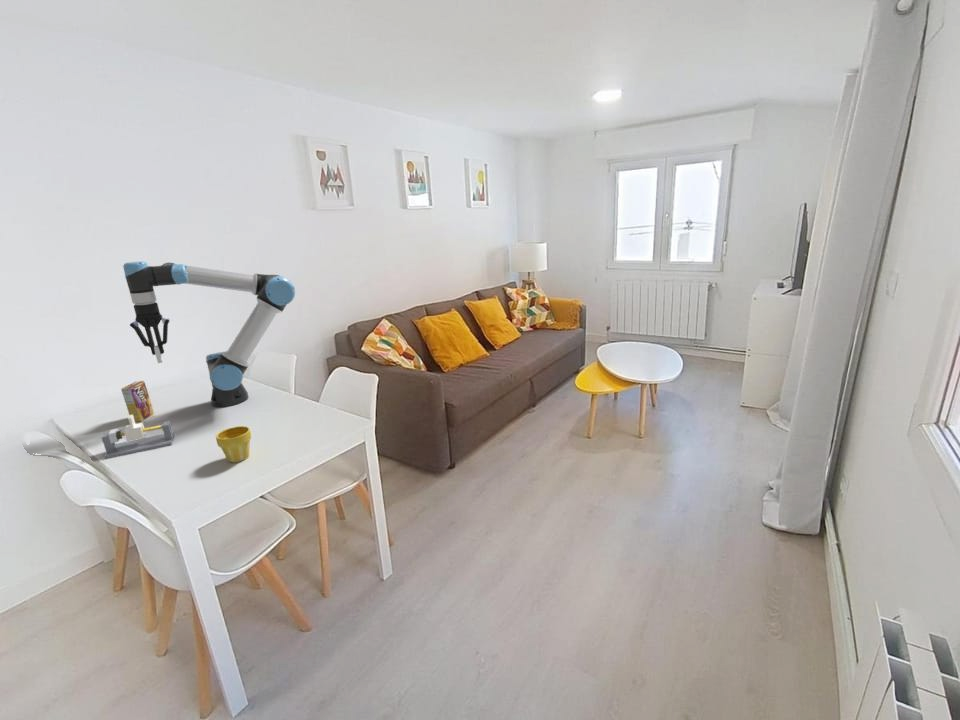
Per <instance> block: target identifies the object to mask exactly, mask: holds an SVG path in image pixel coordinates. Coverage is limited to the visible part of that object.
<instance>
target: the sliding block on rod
mask: <svg viewBox="0 0 960 720" xmlns="http://www.w3.org/2000/svg"><path fill="white" fill-rule="evenodd" d="M160 429H162V431H163V434H159V435H158V434H157V435H154V436H150V437H149V436H148V437H144V438H141V439H136V440H131V441H124V442H119V441H120V440H121V439H122V438H123V437H124V436H125V433H124V431H123V432H122V431H121V430H119V429H118V428H114V429H110V430H109V432H104V433H103V435H102V436H101V439H102V443H103V446H104V449H105V451H106V453H105V455H104V456H103V457H104V459H110V458H111V459H112V458H116V457H120V456H125V455H126V456H127V455H131V454H134V453H138V452H140V453H141V452H145V451H149V450H154V449H159V448H164V447H168V446H172V445H173V443H174V439H175V436H176V433H175V431H173V428H172V425H171V421H170V420H168V421H163V423H162V424H161V425H156V426H151V427H149V426H148V427H144V429H142V431H143V432H150V431H156V430H160ZM125 437H126V436H125Z"/></svg>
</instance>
